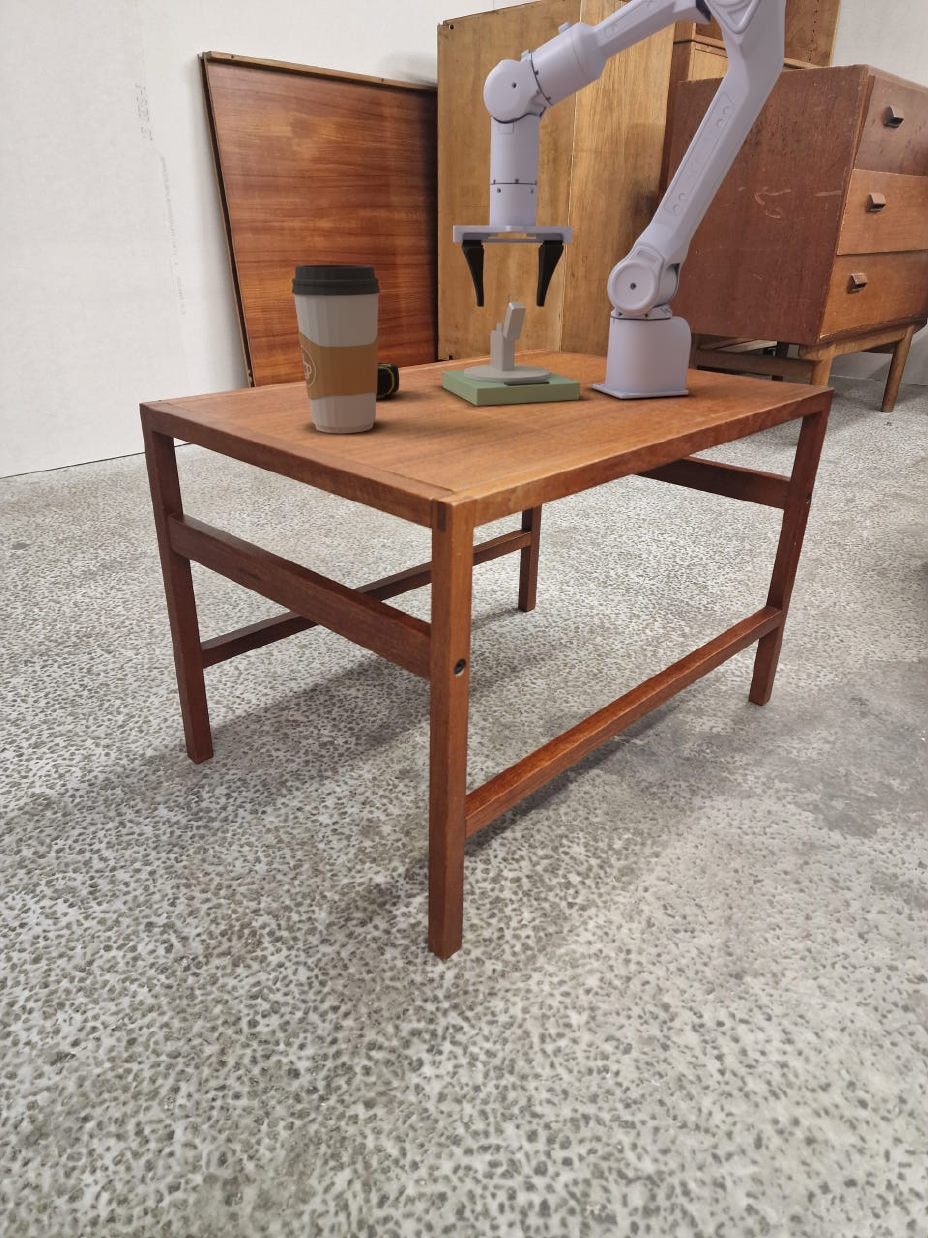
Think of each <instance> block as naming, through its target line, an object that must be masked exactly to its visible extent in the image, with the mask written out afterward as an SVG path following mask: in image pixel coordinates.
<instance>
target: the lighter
mask: <svg viewBox="0 0 928 1238" xmlns="http://www.w3.org/2000/svg"><path fill="white" fill-rule="evenodd" d="M526 312H527V309H526V307H525V305H524V304H523V302H522V301H510V302H509V303H508V304H507V309H506V314H505V318H504V322H501V323H500V322H497V323H496V329H495V330H490V340H489V341H490V345H489V347H490V349H489V350H490V351H489V356H490V357H489V365H490V367H492V368H495V369H497V370H500V371H514V364H515V355H516V353H515V350H516V341H520V339H521V334H522V331H523V330H522V329H523V325H524V321H525V318H526V317H525V316H526Z"/></svg>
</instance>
